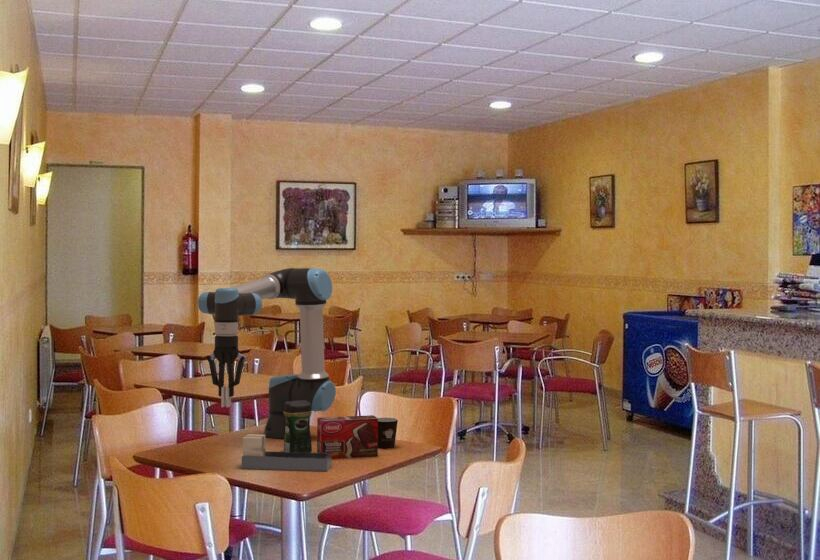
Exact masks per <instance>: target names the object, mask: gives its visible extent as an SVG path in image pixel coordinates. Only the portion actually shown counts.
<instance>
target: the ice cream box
mask: <svg viewBox="0 0 820 560" xmlns="http://www.w3.org/2000/svg"><path fill="white" fill-rule="evenodd" d="M378 418H379V417H377V416H375V415H371V414H370V415H352V416H351V415H350V416H349V415H348V416H323V417H317V419H316V420H317V422H316V423H317V425H316V427H317V428H316V433H317V434H316V444H317V445H316V453H332V460H336V459H337V460H339V459H355V458H371V457H373V458H375V457H376V458H377V457H378V455H379V454H378V450H379V448H378Z"/></svg>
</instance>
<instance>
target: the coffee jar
mask: <svg viewBox="0 0 820 560" xmlns="http://www.w3.org/2000/svg"><path fill="white" fill-rule="evenodd" d="M312 412H313V411H311V404H310V402H309V401H306V400H298V401H289V402H285V404H284V411H283V413H284V416H285V421H286V426H285V438H283V452H309V453H313V452H312V451H313V449H312V448H313V447H312V436H311V427H310V426H311V425H310V422H311V421H310V419H311V416H312Z"/></svg>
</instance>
